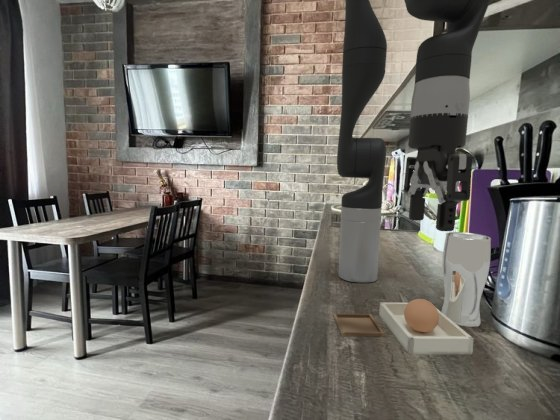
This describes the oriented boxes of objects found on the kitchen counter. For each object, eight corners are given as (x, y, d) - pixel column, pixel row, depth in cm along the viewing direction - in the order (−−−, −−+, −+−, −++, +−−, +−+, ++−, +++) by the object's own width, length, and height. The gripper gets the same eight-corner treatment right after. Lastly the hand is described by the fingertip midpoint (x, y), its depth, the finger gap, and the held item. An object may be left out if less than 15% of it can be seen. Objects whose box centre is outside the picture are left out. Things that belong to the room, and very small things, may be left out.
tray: (378, 316, 55) (379, 302, 55) (428, 316, 56) (430, 302, 55) (408, 356, 43) (409, 338, 43) (472, 356, 44) (473, 338, 43)
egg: (397, 322, 52) (400, 293, 51) (427, 322, 52) (430, 294, 51) (411, 338, 47) (414, 306, 46) (444, 338, 47) (447, 307, 47)
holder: (333, 318, 54) (333, 313, 54) (370, 318, 55) (370, 313, 55) (341, 338, 48) (341, 333, 48) (384, 338, 48) (384, 333, 48)
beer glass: (442, 307, 60) (449, 230, 58) (485, 318, 55) (494, 235, 53) (433, 320, 54) (440, 235, 53) (480, 334, 50) (489, 242, 48)
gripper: (393, 121, 52) (387, 217, 54) (439, 104, 38) (428, 234, 40) (437, 122, 53) (429, 217, 55) (499, 106, 38) (485, 235, 41)
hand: (429, 224), depth 48 cm, fingers open, 8 cm apart
